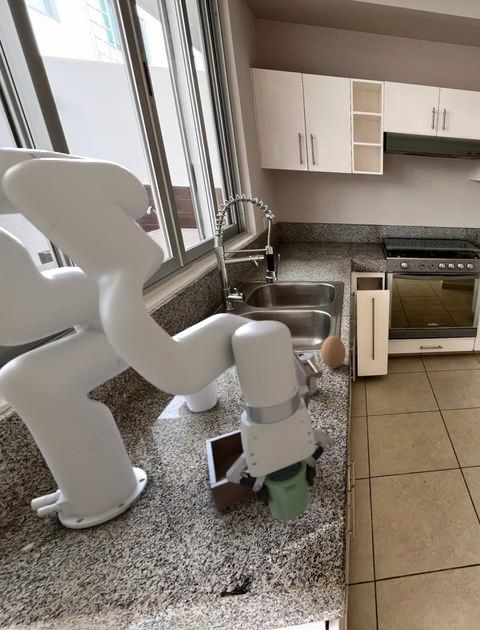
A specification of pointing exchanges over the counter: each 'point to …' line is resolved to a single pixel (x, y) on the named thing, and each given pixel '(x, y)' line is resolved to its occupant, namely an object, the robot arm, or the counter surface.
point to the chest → (225, 469)
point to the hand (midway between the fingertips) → (288, 489)
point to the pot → (288, 491)
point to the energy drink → (304, 357)
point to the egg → (333, 352)
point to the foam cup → (202, 398)
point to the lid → (306, 374)
